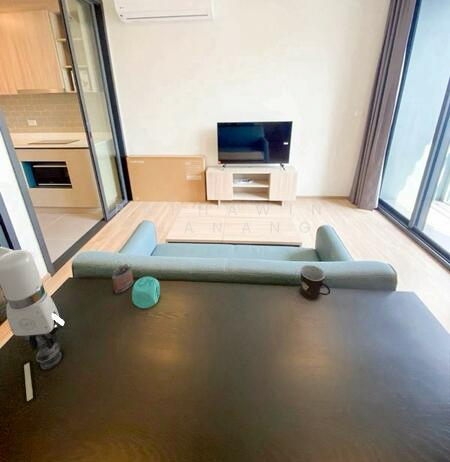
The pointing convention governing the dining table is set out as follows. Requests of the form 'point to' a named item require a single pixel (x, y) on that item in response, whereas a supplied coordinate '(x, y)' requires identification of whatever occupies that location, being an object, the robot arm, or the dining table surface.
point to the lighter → (122, 278)
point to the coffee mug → (312, 282)
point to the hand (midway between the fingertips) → (45, 344)
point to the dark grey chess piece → (47, 353)
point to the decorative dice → (146, 292)
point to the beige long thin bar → (28, 382)
